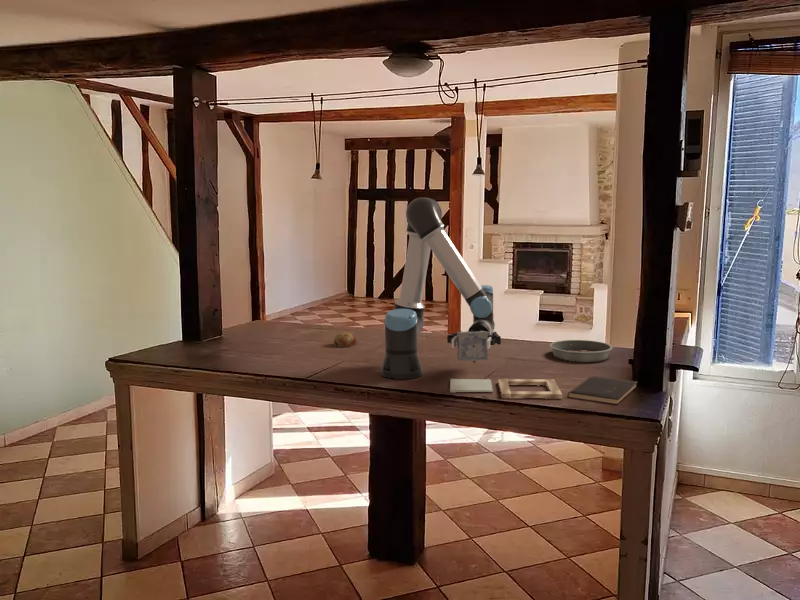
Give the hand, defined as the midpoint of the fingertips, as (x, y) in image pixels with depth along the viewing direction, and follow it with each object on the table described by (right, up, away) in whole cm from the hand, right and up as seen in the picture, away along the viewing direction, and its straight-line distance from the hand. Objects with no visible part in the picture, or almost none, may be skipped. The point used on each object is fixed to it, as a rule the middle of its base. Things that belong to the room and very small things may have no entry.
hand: (470, 344), depth 219 cm
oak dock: (+20, -15, 0) cm, 25 cm away
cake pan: (+50, -8, +49) cm, 71 cm away
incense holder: (+1, -6, +5) cm, 8 cm away
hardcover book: (+44, -16, -2) cm, 46 cm away
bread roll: (-48, -6, +77) cm, 91 cm away
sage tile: (+1, -15, +6) cm, 16 cm away
